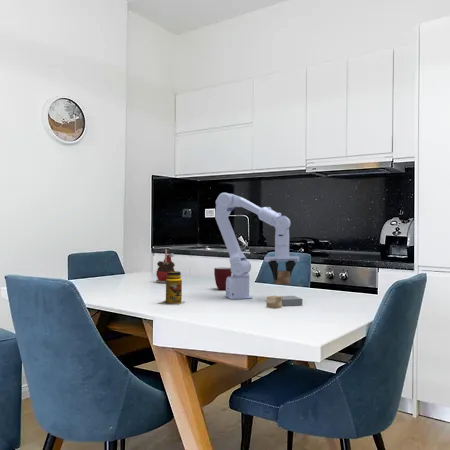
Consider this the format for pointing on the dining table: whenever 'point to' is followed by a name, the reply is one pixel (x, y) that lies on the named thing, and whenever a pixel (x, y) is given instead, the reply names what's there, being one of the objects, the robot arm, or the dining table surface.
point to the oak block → (274, 302)
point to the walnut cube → (282, 277)
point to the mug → (222, 277)
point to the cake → (164, 267)
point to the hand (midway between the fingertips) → (281, 279)
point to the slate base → (291, 301)
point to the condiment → (173, 288)
